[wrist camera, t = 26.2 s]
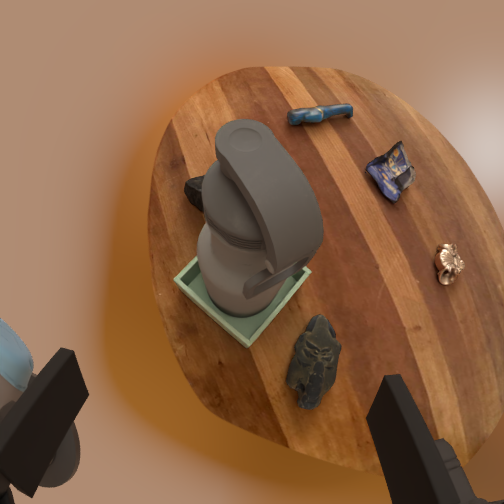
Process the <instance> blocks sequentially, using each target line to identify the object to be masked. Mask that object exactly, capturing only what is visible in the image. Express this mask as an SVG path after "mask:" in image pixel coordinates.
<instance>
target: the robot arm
mask: <svg viewBox="0 0 504 504" xmlns="http://www.w3.org/2000/svg"><path fill="white" fill-rule="evenodd" d="M32 371H33V359H32V356H31V354H30V352H29V350H28V348H27V347H26V345H25V344H24V342H23V341H22V340H21V339H20V337H19V336H18V335H17V334H16V333H15V332H14V331H13V330H12V329H11V327H10V326H9V325H8V324H7V323H5V322H4V321H3V320H2V319H1V318H0V504H15V503H14V499H13V495H12V491H11V489H10V487H9V485H10V483H11V484H12V485H13V486H14V487H16V488H17V490H19V491H20V492H22V493H24V494H26V495H27V496H29V497H31V498H33V496H34V494H35V492H36V490H37V487H38V486H39V484H40V482H41V480H42V478H43V476H44V474H45V472H46V470H47V468H48V467H49V466H50V465H51V464H52V463H53V462H54V460H55V457H56V453H57V450H58V448H59V446H60V444H61V442H62V441H63V439H64V437H65V435H66V433H67V432H68V430H69V428H70V426H71V425H72V423H73V421H74V420H75V418H76V416H77V414H78V413H79V411H80V409H81V408H82V406H83V404H84V403H85V401H86V399H87V398H88V396H89V393H88V390H87V388H86V385H85V382H84V379H83V377H82V374H81V371H80V368H79V365H78V362H77V359H76V356H75V353H74V351H73V350H69V349H65V348H60V349H59V350H58V352H57V353H56V354H55V355H54V356H53V357H52V358H51V359H50V361H49V362H48V363H47V364H46V366H45V367H44V368H43V369H42V370H41V371H40V373H39V374H38V375H37V376H36V378H35V379H34V380H33V381H32V382H31V384H30V385H29V386H28V387H27V384H28V382H29V379H30V377H31V374H32ZM366 420H367V423H368V426H369V429H370V432H371V435H372V438H373V441H374V444H375V447H376V450H377V453H378V457H379V460H380V463H381V466H382V470H383V473H384V476H385V480H386V483H387V486H388V490H389V493H390V497H391V500H392V504H504V500H501V501H494V502H487V501H486V500H484V499H481V498H477V497H476V496H475V494H474V492H473V490H472V488H471V486H470V483H469V481H468V479H467V477H466V475H465V472H464V470H463V468H462V466H460V465H461V464H460V462H459V460H458V459H457V456H456V454H455V452H454V450H453V448H452V446H451V445H450V444H449V443H448V442H447V441H445V440H444V439H443V438H442V439H439V440H435V441H434V440H433V438H432V436H431V433H430V431H429V429H428V427H427V425H426V423H425V421H424V419H423V417H422V415H421V413H420V411H419V409H418V407H417V405H416V404H415V402H414V400H413V398H412V396H411V394H410V392H409V390H408V388H407V386H406V384H405V383H404V381H403V379H402V377H401V375H400V374H396V375H385V376H384V378H383V380H382V383H381V385H380V387H379V390H378V392H377V395H376V397H375V399H374V402H373V404H372V406H371V408H370V410H369V413H368V415H367V417H366Z"/></svg>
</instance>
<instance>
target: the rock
mask: <svg viewBox="0 0 504 504" xmlns="http://www.w3.org/2000/svg"><path fill="white" fill-rule="evenodd" d="M204 176H205V175H203V176H199V177H195V178H191V179H189V180H188V181H186V183H185V188H184V192H185V194H186V196H187V198H188V199H189V201H190V202H191V203H192V204H194V205H196V206H197V207H198V208H199V209H200V210H201V211H203V212H204V208H203V201H202V183H203V180H204Z"/></svg>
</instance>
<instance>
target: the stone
mask: <svg viewBox="0 0 504 504" xmlns="http://www.w3.org/2000/svg"><path fill="white" fill-rule="evenodd" d="M294 348H295V355H294V357H293V359H292V361H291V363H290V366H289V370H288V374H287V378H286V382H287V384H288V385H289V387H290V388H293V389H295V390H296V391H297V392H298V396H299V398H298V400H297V403H298V406H299V407H301V408H304V409H308V410H310V409H314V408H316V407H318V405H319V404H320V402H321V399H322V397H323V395H324V394H325V393H326V392H327V391H328V390H329V389H330V388H331V387H332V386H333V384H334V382H335V378H336V371H337V364H338V358H339V354H340V351H341V344H340V343H339V342H338V341H337V340H336V334H335V331H334V329H333V327H332V326H331V324H330V323H329V321H328V320H327V319H326V318H325V317H324V316H323V315H317V316H315V317H313V318H312V319H311V321H310V322H309V324H308V326H307V328H306V332H305V333H303V334H302V335H300V337H299V339H298V340H297V343H296V345H295V347H294Z"/></svg>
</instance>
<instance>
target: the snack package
mask: <svg viewBox="0 0 504 504" xmlns="http://www.w3.org/2000/svg"><path fill="white" fill-rule="evenodd" d="M366 171H367V172H369V173H370V174H371V175H372V176H373V178H374V179H375V180H376V182H377V183H378V185H379V186H377V187H379V189H380V190H381V191H382V194H384V196H385V197H387V198H388V199H389V200H390V201H391V202H392V203H396V202H397V201H398V199H399V198H400V194H401V192H402V191H403V190H404V189H405V188H407V187H408V186H409V185H411V184H412V183H413V182H414V181H415V177H416V172H415V169H414V167H413V166H412V165H411V162H409V160H408V159H407V155H406V152H405V150H404V146H403V144H402V141H399V142H397V143H396V144H395V145H394V146H393V147H392V148H391V149H390V150H389V151H388V152H387V153H385V154H384V155H381V156H380V157H377V158H375V159H374V160H373V161H371V162H369V163H368V164H367V166H366ZM365 173H366V172H365Z"/></svg>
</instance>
